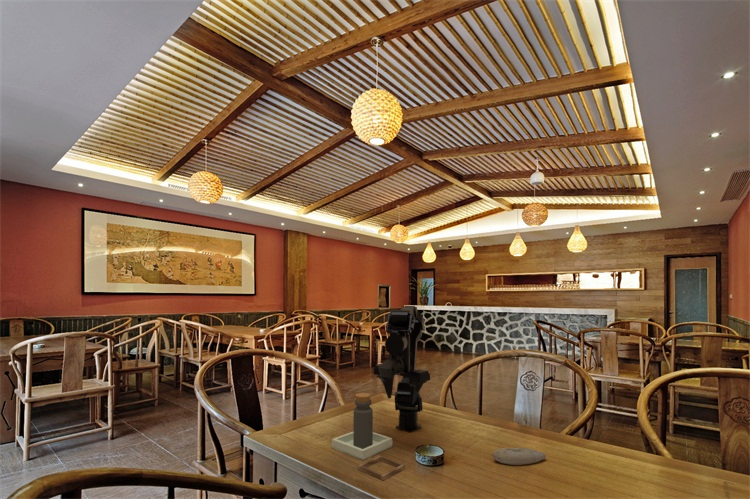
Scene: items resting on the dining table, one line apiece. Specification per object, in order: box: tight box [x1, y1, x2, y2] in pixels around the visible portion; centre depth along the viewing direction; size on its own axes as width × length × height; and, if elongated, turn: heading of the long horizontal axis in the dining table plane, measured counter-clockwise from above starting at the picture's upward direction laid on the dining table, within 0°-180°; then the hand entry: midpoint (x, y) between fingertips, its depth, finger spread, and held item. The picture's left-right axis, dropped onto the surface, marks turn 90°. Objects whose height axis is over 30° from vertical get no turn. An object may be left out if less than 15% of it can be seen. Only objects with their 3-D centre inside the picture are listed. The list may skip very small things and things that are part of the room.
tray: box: [331, 431, 393, 461], centre depth 123 cm, size 13×13×2 cm
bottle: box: [352, 392, 374, 449], centre depth 124 cm, size 6×6×15 cm
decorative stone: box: [491, 447, 547, 466], centre depth 114 cm, size 6×16×3 cm, turn 99°
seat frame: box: [357, 455, 406, 481], centre depth 108 cm, size 9×9×1 cm
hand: (400, 400), depth 127 cm, fingers open, 9 cm apart
